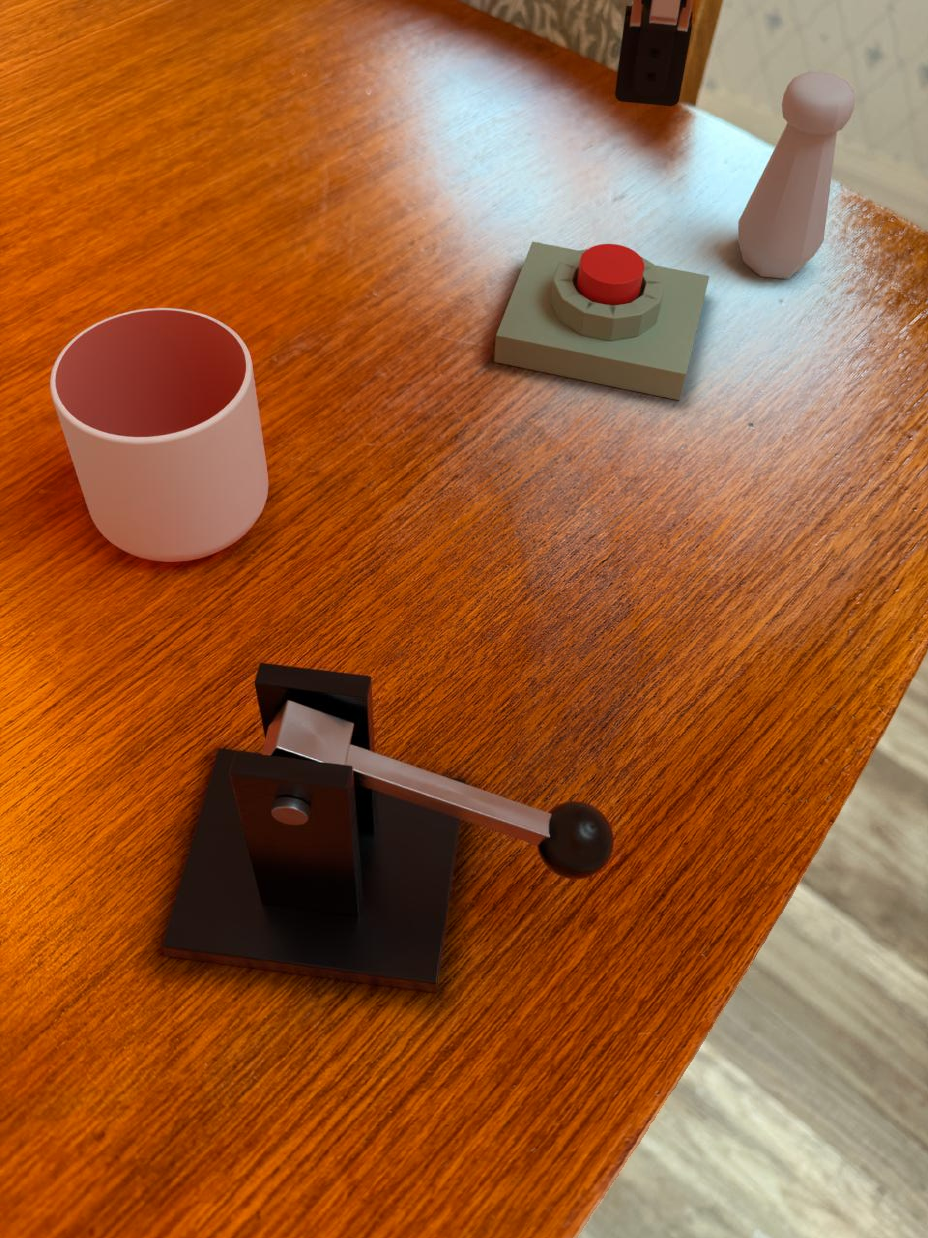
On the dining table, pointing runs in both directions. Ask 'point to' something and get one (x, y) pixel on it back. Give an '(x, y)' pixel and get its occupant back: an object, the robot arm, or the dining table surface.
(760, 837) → the dining table surface
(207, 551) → the cup
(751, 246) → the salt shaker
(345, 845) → the bracket
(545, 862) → the lever
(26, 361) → the dining table surface
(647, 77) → the robot arm
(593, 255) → the button
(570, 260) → the button box
